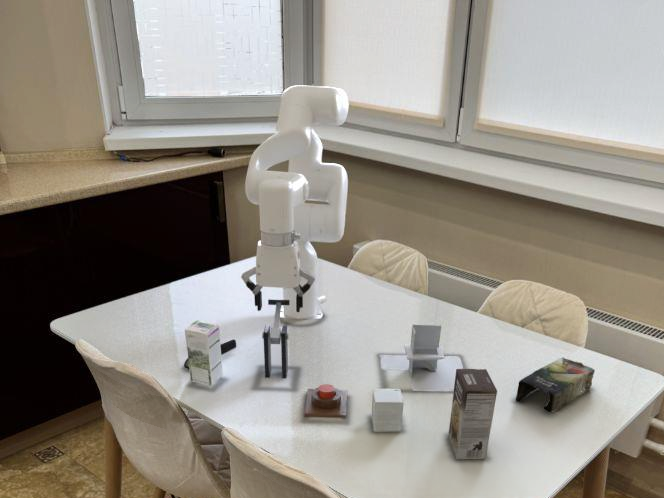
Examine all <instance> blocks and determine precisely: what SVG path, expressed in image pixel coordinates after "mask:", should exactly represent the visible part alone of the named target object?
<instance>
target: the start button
mask: <svg viewBox="0 0 664 498" xmlns="http://www.w3.org/2000/svg"><path fill="white" fill-rule="evenodd" d="M317 388H318V396H319V397H321V398H333V397H334V396H335V388H336V387H335V386H334V385H333V384H326V383H325V384H321V385H319V386H318V387H317Z"/></svg>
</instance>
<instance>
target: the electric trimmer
mask: <svg viewBox="0 0 664 498" xmlns="http://www.w3.org/2000/svg"><path fill="white" fill-rule="evenodd" d="M220 346H221V356H222V355H224V354H226V353H228V352H230V351H232V350H234V349H236V348H237V341H236V339H235V338H234V339H231V340H228V341H226V342H223V343H220ZM183 367H184V369H185V370H187V371H189V372H190V370H189V361H188V357H187V358H186V360H185V361H184V363H183Z"/></svg>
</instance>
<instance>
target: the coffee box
mask: <svg viewBox="0 0 664 498" xmlns="http://www.w3.org/2000/svg"><path fill="white" fill-rule="evenodd" d="M452 393H453V395H452V403H451V411H450V419H449V426H448V440H449V442H450V445H451V447H452V451H453V453H454V457H455V459H456V460H486V459H487V458H486V457H487V452H488V446H489V442H490V441H489V440H490V436H491V429H492V424H493V418H494V413H495V407H496V401H497V396H498V395H497V394H498V389H497V387H496V385H495V383H494V381H493V380H492V378H491V376H490V374H489V372H488V370H487V369H486V368H485V369H481V368H480V369H479V368H464V369H456V376H455V384H454V392H452Z"/></svg>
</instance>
